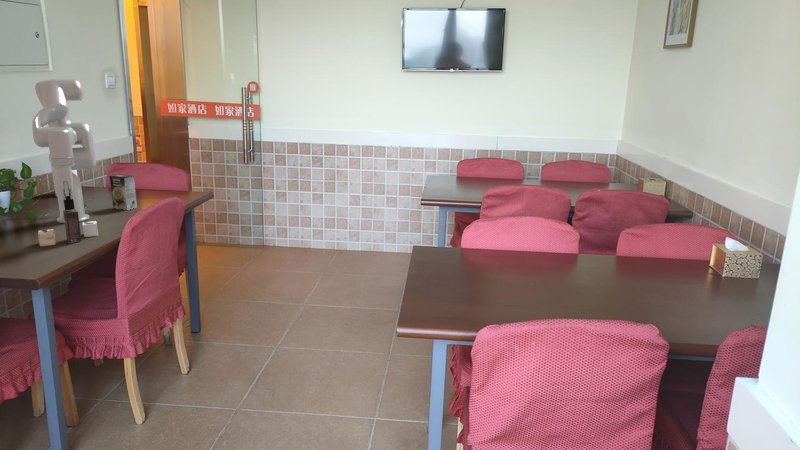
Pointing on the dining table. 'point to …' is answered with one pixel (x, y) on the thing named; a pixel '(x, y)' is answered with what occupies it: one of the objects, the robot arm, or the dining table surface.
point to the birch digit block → (46, 237)
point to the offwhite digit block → (90, 229)
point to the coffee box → (123, 191)
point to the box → (72, 225)
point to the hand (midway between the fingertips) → (69, 209)
